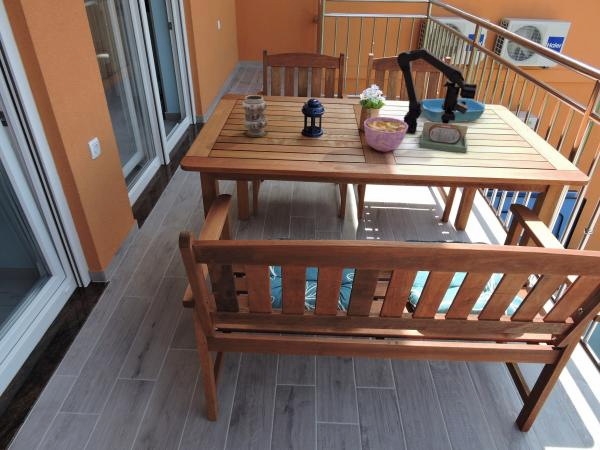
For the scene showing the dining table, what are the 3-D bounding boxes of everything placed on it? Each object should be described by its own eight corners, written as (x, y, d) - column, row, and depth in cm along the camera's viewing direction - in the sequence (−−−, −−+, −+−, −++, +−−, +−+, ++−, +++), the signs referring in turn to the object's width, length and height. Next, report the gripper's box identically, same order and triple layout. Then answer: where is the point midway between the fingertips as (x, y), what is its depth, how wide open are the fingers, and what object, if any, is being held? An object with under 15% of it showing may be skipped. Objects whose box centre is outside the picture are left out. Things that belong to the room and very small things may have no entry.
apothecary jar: (262, 127, 215) (261, 92, 205) (271, 135, 206) (270, 99, 196) (240, 131, 211) (237, 95, 201) (248, 139, 202) (246, 102, 192)
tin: (459, 143, 200) (463, 126, 195) (459, 145, 198) (463, 128, 193) (427, 139, 204) (430, 122, 199) (426, 141, 201) (430, 124, 196)
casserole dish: (425, 124, 223) (427, 111, 219) (411, 111, 241) (413, 98, 237) (490, 122, 227) (493, 110, 223) (471, 109, 245) (474, 97, 241)
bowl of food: (369, 136, 207) (372, 114, 200) (409, 144, 199) (413, 121, 193) (355, 151, 192) (357, 127, 186) (397, 160, 185) (401, 135, 178)
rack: (419, 147, 197) (422, 132, 193) (421, 135, 210) (424, 120, 206) (465, 153, 192) (469, 137, 188) (464, 140, 205) (468, 125, 201)
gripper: (470, 104, 188) (462, 136, 197) (468, 92, 203) (461, 123, 212) (444, 101, 191) (437, 134, 200) (444, 90, 206) (438, 120, 215)
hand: (444, 127), depth 206 cm, fingers closed
